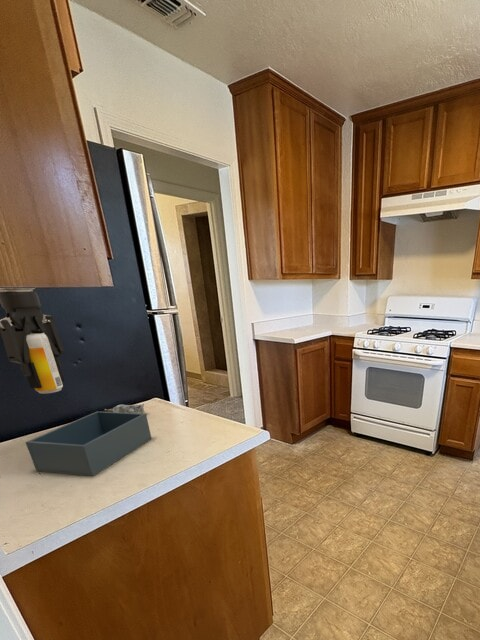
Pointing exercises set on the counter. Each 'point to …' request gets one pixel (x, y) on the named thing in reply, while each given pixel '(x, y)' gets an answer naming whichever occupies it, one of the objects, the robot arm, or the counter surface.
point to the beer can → (44, 363)
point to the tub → (89, 443)
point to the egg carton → (127, 409)
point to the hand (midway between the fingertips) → (47, 384)
